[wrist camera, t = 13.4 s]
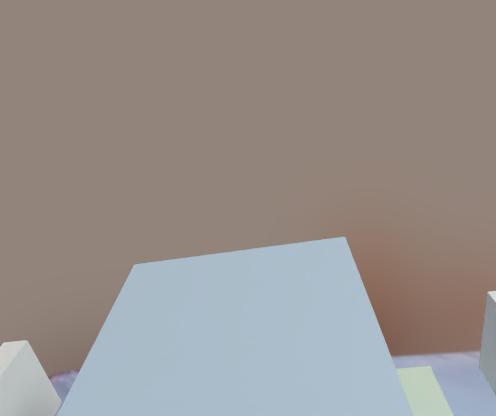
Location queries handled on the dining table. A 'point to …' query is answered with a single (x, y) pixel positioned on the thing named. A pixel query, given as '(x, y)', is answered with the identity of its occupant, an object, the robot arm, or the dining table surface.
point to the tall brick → (242, 340)
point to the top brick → (423, 392)
